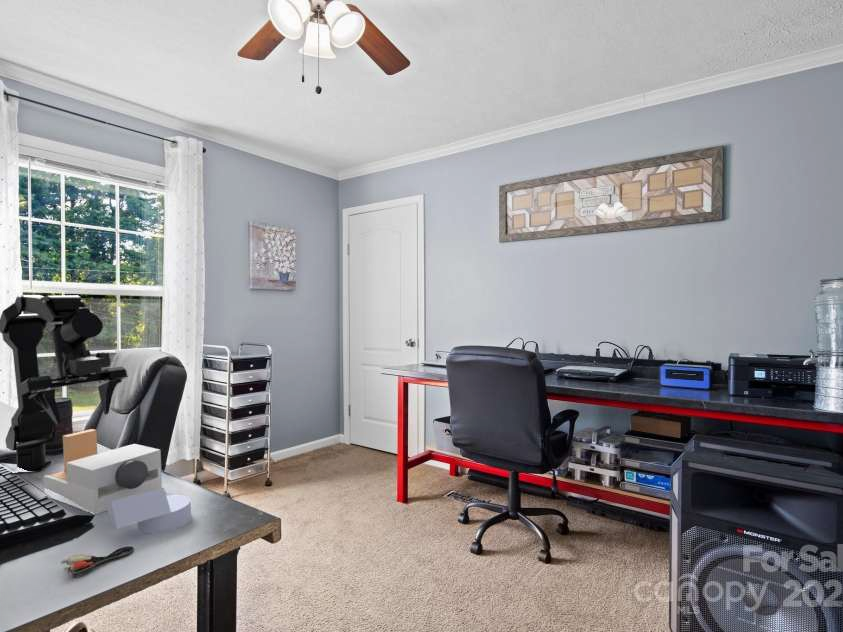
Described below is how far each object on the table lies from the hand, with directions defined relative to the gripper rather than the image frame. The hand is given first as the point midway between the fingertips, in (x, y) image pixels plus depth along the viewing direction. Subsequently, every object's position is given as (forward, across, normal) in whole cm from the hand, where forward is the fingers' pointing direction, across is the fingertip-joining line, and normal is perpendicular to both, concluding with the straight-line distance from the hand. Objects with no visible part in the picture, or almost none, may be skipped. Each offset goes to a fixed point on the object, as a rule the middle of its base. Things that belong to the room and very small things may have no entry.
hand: (83, 418), depth 103 cm
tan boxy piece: (+12, +2, +8) cm, 14 cm away
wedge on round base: (+24, 0, -21) cm, 32 cm away
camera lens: (+4, +9, +45) cm, 46 cm away
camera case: (+17, +3, +2) cm, 17 cm away
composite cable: (+26, -12, -26) cm, 39 cm away
